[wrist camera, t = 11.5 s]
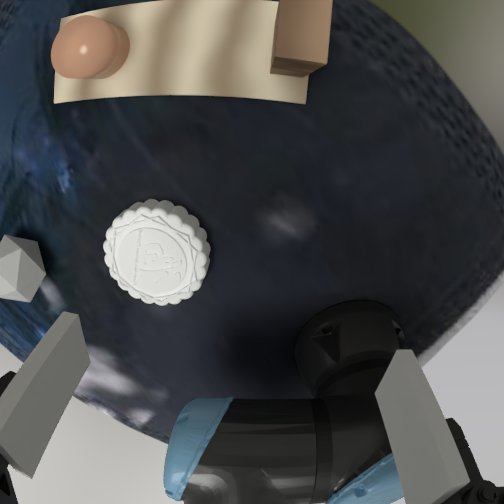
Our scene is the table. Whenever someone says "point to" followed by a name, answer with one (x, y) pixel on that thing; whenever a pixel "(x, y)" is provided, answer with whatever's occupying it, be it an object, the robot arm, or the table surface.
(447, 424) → the robot arm
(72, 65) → the pink glossy domed part
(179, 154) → the table surface
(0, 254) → the die
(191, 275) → the mooncake
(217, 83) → the strip
